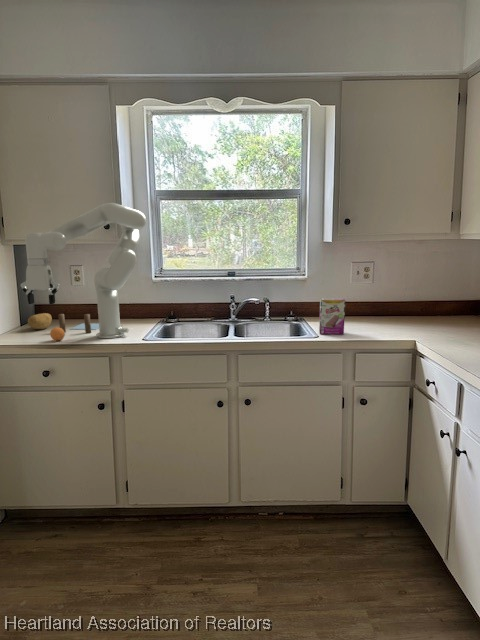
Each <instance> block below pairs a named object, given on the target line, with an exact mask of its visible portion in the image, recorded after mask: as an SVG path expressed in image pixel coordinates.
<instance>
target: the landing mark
mask: <svg viewBox="0 0 480 640" xmlns="http://www.w3.org/2000/svg"><path fill="white" fill-rule="evenodd" d="M90 324H91V331H94V330H95V331H96V330H98V329H99V323H91V322H90ZM69 330H82V331H83V330H84V331H85V322H83V323H80V324H78V325H76V326H73V327H70V328H69Z"/></svg>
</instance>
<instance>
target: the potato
mask: <svg viewBox="0 0 480 640" xmlns="http://www.w3.org/2000/svg"><path fill="white" fill-rule="evenodd" d="M52 320H53V318H52V315H51V314H50V313H48V312H47V313H46V312H43V313H38V314H34V315H31V316H29V317H28V319H27V324H28V326H29V327H30V328H31V329H34V330H45V329H47V328H48V327H49V326H50V325H51V323H52Z"/></svg>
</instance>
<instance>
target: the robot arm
mask: <svg viewBox="0 0 480 640" xmlns="http://www.w3.org/2000/svg"><path fill="white" fill-rule="evenodd" d="M112 223H114V224H117V225H119V226H120V229H121V236H120V238H119V240H118V242H117V243H116V245H115V246H114V248H113V250H112V251H111V252H110V254H109V255H108V263H109V265H110V267H103V268H99V269H98V270H97V271H96V272H95V274H94V276H93V281H94V287H95V292H96V300H97V313H98V315H97V316H98V317H97V318H98V324H99V328H98V329H99V332H97V333H96V338H99V339H115V338H120V337H123V336H125V333H129V331H130V329H129V328H128V327H124V326H123V324H121V319H120V315H121V314H120V298H119V293H118V291H119V290H121V289H122V287H124V285H126V283H127V281H128V280H129V277H131V275H132V273H133V271H134V269H135V268H136V266H137V261H138V259H137V255H136V253H135V252H136V250H137V248H138V246H139V244H140V239H141V237H140V230H142V229H144V227H145V226H146V224H147V218H146V216H145V214H144V213H143V212H142V211H140V210H138V209H134V208H131V207H129V206H125V205H122V204H119V203H116V202H107V203H102V204H100V205H98V206H96V207H95V208H92V209H90V210H89V211H86V212H84V213H83V214H81V215H79V216H77V217H75V218H72V219H71V220H68V221H67V222H64V223H63V224H61V225H59V226H56V227H55V228H53V229H50V230H49V231H47V232H27V233H25V236H24V239H25V241H24V242H25V248H26V249H25V250H26V258H27V266H26V270H25V281H23V282H22V283H20V287H21V290H22V291H23V292H24V293H25V295H26V296H27V302H28V305H32V304H35V297H34V294H33V293H34V291H46V292H47V293H48V303H49V305H55V303H56V296H55V295H56V294H57V292H58V291H59V288H60V286H61V285H60V283H59V282H57V281H55V279H54V276H53V271H52V268H51V266H50V265H49V264H50V263H51V260H50V259H49V258H48V253H47V250H52V251H61V250H63V249H65V248H66V246H67V243H68V242H70V241H72V240H75V239H77V238H81V237H85V236H88V235H90V234H92V233H95V232H96V231H97V230H100V229H102V228H103V227H105V226H107V225H109V224H112Z"/></svg>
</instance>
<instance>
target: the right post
mask: <svg viewBox="0 0 480 640" xmlns="http://www.w3.org/2000/svg"><path fill="white" fill-rule="evenodd" d="M83 317H84V318H83V320H84V323H85V330H84V331H85V334H91V333H92V330H91V324H92V323H91V314H90V313H87V314H84V315H83ZM90 323H91V324H90Z"/></svg>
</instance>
